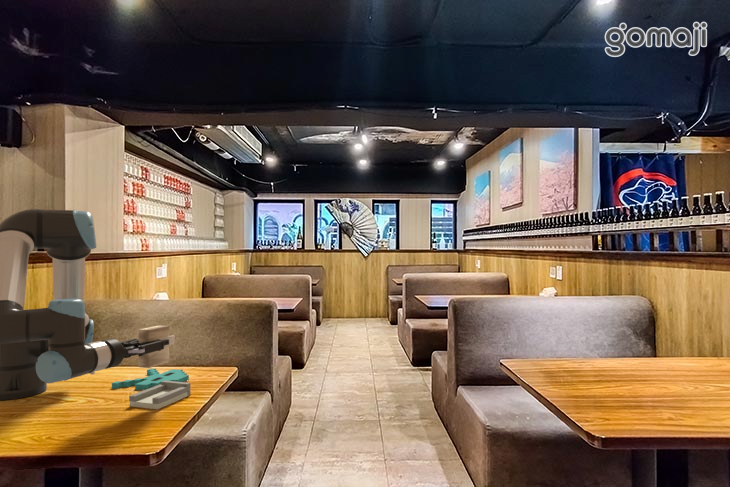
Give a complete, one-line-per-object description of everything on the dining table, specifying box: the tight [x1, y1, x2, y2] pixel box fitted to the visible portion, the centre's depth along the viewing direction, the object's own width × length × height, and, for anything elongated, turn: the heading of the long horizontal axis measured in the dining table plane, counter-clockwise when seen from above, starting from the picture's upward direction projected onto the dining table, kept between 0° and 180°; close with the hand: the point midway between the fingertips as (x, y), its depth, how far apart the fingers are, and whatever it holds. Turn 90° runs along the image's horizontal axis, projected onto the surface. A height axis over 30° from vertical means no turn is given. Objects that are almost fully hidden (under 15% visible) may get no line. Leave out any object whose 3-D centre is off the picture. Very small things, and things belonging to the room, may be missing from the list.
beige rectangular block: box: [137, 325, 170, 369], centre depth 139 cm, size 4×8×11 cm, turn 160°
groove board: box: [128, 381, 191, 410], centre depth 140 cm, size 10×14×4 cm
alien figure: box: [111, 368, 190, 391], centre depth 162 cm, size 20×2×20 cm
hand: (167, 339), depth 144 cm, fingers closed on beige rectangular block, 4 cm apart
